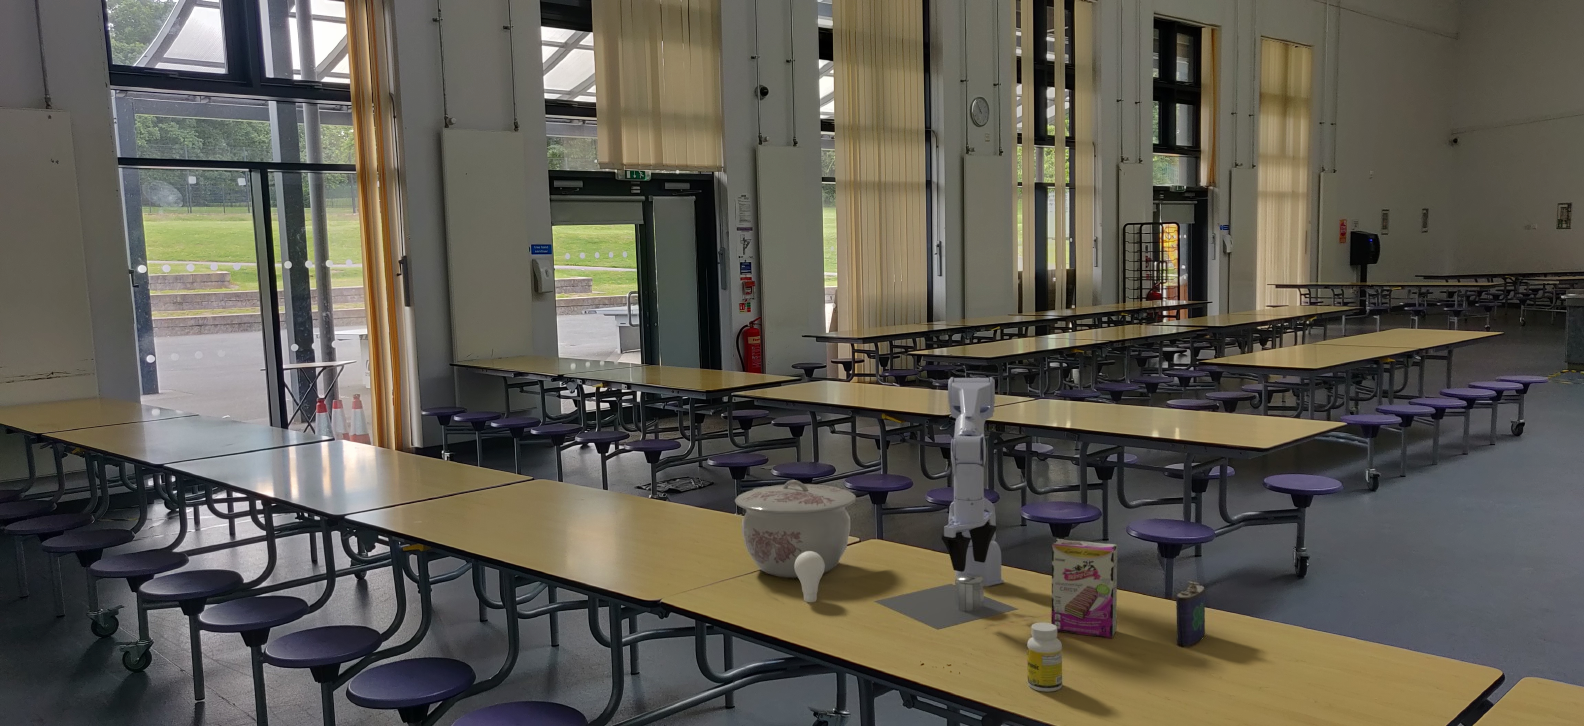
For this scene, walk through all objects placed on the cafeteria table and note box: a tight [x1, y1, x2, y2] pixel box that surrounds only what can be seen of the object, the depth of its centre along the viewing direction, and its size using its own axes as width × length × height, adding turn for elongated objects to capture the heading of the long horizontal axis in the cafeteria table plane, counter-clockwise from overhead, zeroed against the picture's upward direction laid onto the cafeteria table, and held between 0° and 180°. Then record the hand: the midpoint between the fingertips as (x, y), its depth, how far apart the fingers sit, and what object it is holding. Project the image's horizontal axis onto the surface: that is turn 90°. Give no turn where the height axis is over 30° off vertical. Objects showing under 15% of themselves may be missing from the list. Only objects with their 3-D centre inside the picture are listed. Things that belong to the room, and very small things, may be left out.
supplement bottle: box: [1026, 622, 1063, 693], centre depth 164 cm, size 5×5×10 cm
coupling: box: [954, 573, 985, 612], centre depth 200 cm, size 5×5×6 cm
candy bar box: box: [1050, 538, 1118, 639], centre depth 188 cm, size 11×5×16 cm, turn 65°
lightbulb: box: [794, 551, 825, 603], centre depth 207 cm, size 6×6×11 cm
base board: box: [873, 583, 1018, 630], centre depth 202 cm, size 20×20×1 cm
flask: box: [1175, 580, 1206, 649], centre depth 182 cm, size 9×3×11 cm, turn 138°
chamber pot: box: [734, 479, 857, 579], centre depth 232 cm, size 28×28×21 cm
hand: (969, 566), depth 200 cm, fingers open, 7 cm apart
